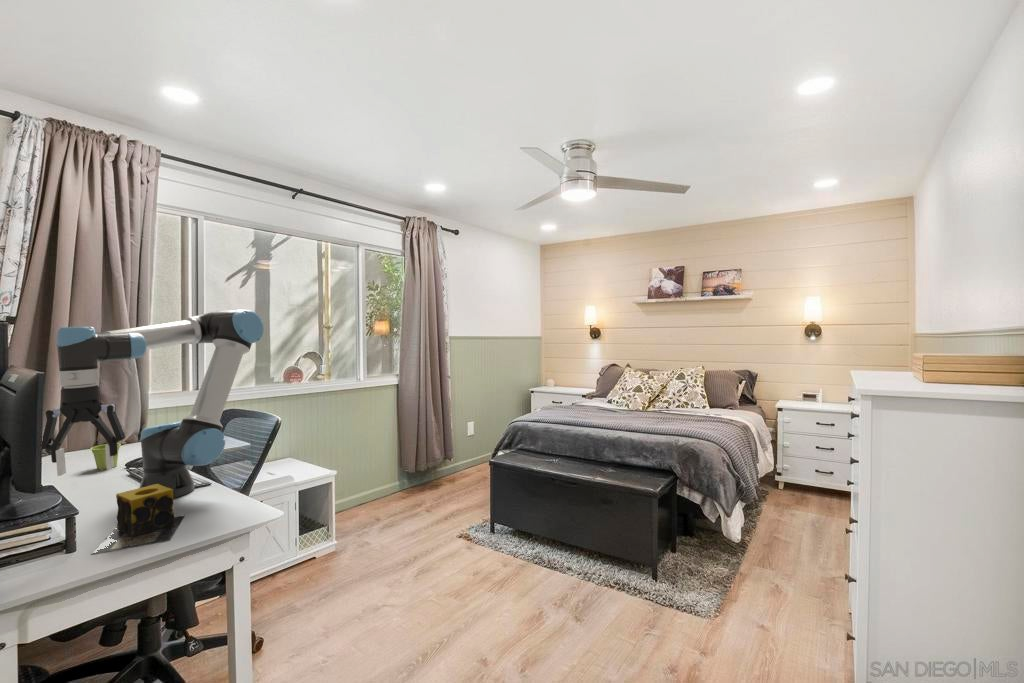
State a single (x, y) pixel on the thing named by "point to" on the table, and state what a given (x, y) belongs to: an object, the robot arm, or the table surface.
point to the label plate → (142, 537)
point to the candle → (145, 509)
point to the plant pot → (103, 456)
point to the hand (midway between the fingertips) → (86, 471)
